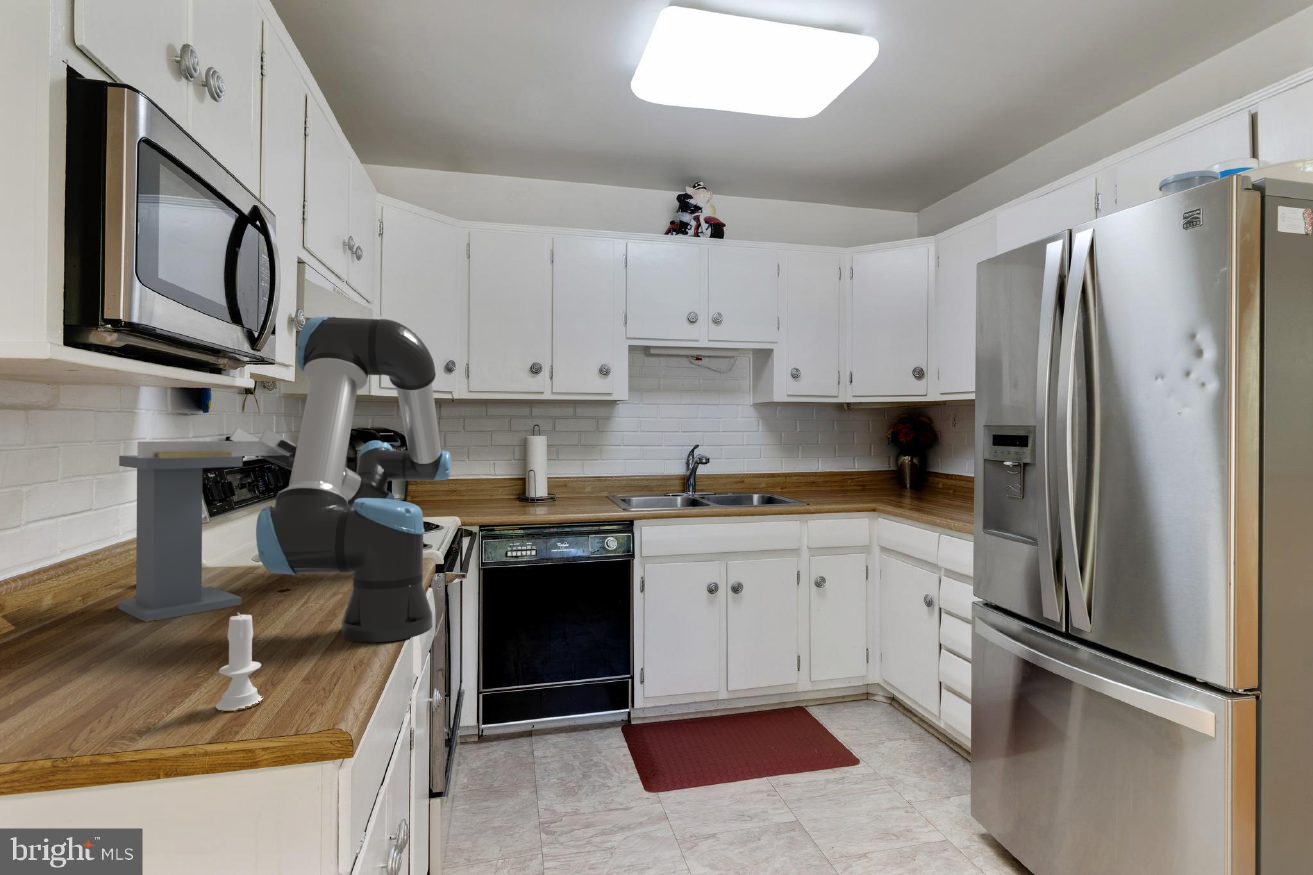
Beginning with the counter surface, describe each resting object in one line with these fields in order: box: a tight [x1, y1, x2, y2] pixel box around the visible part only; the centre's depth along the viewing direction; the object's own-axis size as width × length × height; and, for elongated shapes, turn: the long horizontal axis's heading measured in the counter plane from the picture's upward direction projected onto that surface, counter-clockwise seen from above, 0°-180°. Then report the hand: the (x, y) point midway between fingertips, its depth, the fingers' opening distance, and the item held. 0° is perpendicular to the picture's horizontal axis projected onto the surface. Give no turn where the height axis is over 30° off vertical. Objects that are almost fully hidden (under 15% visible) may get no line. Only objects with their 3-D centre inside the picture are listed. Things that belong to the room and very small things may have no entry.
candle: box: [215, 612, 264, 711], centre depth 87 cm, size 5×5×12 cm
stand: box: [117, 454, 243, 623], centre depth 133 cm, size 16×15×30 cm
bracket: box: [158, 452, 232, 458], centre depth 130 cm, size 12×7×1 cm, turn 144°
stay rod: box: [136, 440, 285, 458], centre depth 134 cm, size 26×3×3 cm, turn 144°
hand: (247, 433), depth 139 cm, fingers open, 13 cm apart
